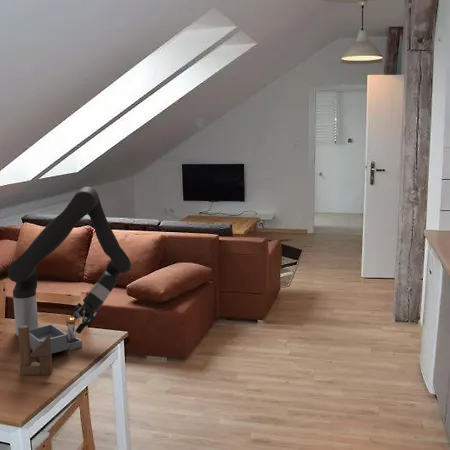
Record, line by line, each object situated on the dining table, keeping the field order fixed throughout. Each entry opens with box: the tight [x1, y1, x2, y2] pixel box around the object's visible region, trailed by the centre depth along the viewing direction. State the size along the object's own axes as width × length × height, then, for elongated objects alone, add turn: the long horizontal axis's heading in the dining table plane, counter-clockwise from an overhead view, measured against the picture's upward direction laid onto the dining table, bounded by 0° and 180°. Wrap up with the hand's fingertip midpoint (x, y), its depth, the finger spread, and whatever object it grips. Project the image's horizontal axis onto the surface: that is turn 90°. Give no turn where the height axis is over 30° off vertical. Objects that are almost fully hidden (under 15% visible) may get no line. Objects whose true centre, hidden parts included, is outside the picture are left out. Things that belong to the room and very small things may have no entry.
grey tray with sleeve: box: [29, 323, 83, 363], centre depth 207 cm, size 15×19×9 cm
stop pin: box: [65, 316, 77, 343], centre depth 211 cm, size 4×4×12 cm
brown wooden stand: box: [18, 325, 54, 377], centre depth 187 cm, size 4×11×18 cm, turn 96°
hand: (72, 329), depth 212 cm, fingers open, 8 cm apart
